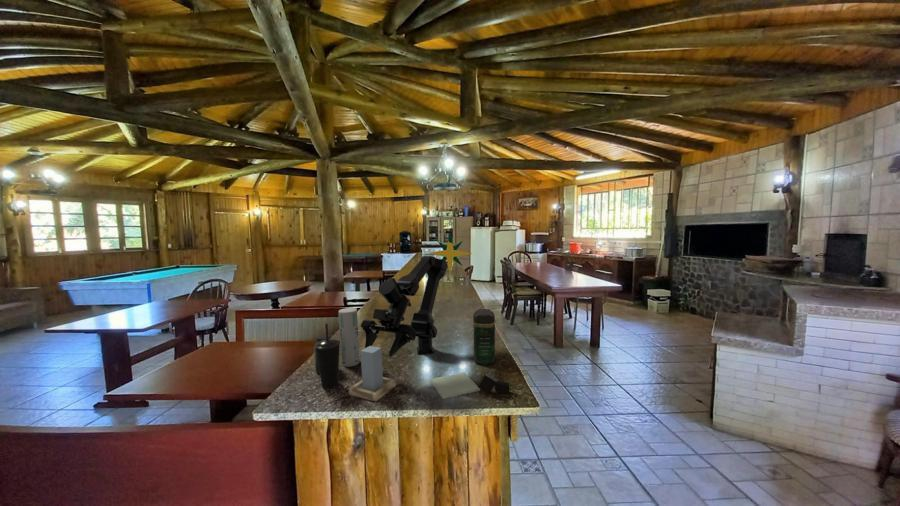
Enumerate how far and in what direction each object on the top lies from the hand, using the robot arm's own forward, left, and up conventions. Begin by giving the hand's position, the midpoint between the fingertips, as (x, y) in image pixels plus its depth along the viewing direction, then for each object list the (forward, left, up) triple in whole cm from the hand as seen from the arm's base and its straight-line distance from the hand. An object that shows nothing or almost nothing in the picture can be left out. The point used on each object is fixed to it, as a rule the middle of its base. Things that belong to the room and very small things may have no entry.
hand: (377, 354), depth 103 cm
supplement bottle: (-15, -20, -10) cm, 27 cm away
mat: (+5, +23, -10) cm, 26 cm away
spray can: (-19, -12, -10) cm, 25 cm away
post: (+3, -2, -10) cm, 11 cm away
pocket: (+3, -2, -10) cm, 11 cm away
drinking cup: (-3, -16, -10) cm, 19 cm away
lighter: (+11, +34, -11) cm, 37 cm away
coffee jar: (-12, +37, -10) cm, 41 cm away
